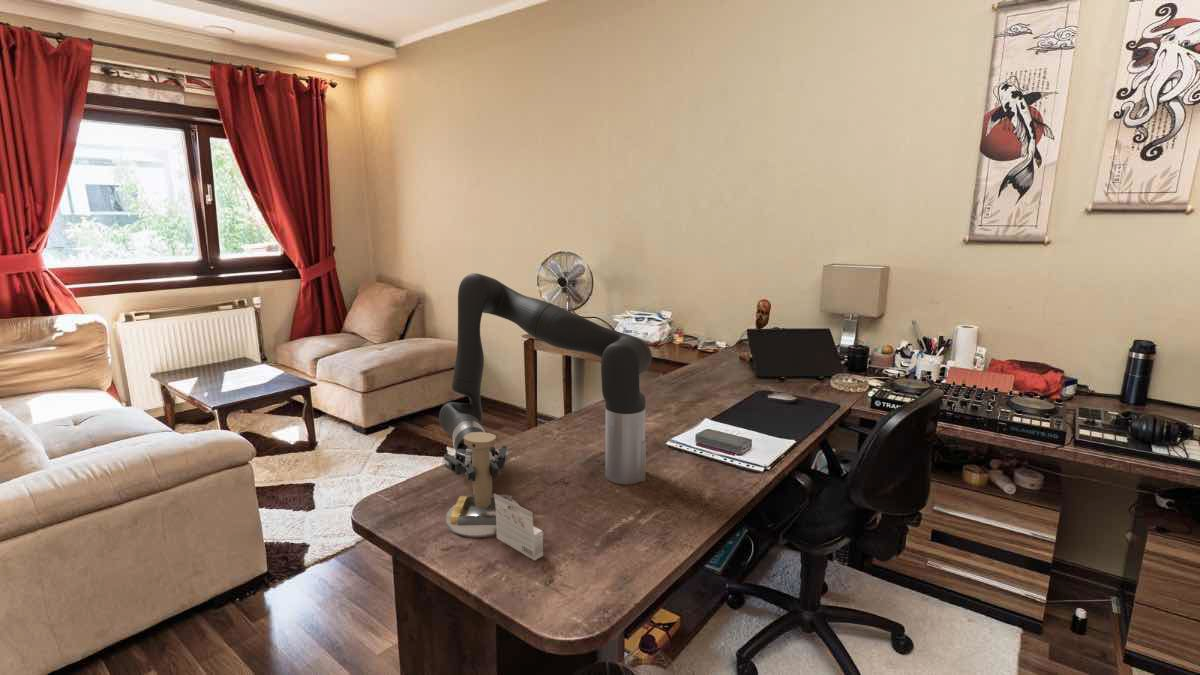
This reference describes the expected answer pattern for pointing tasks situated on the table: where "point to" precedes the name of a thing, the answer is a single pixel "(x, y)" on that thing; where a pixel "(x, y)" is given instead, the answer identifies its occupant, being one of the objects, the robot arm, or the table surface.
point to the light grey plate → (474, 517)
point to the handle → (481, 466)
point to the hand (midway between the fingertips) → (483, 475)
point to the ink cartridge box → (518, 528)
